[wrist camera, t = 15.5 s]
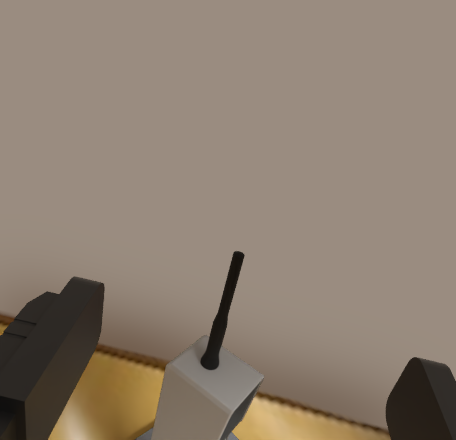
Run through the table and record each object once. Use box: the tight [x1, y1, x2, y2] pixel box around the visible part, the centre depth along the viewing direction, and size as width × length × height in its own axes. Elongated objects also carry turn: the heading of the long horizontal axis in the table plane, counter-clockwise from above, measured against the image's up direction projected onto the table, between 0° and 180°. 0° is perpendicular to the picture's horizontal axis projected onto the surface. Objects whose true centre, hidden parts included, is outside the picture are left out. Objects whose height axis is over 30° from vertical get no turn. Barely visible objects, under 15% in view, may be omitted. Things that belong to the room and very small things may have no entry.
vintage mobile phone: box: [151, 251, 264, 440], centre depth 28 cm, size 4×5×25 cm
